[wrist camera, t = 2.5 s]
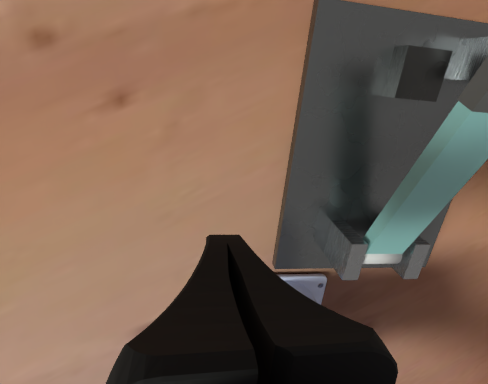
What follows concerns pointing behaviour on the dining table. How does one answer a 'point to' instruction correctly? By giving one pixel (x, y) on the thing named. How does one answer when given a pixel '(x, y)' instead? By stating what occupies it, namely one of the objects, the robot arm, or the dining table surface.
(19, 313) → the dining table surface
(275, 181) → the dining table surface
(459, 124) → the teal rectangular bar
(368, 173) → the plate
